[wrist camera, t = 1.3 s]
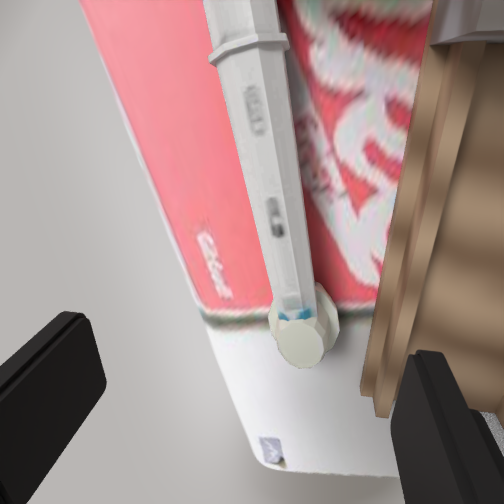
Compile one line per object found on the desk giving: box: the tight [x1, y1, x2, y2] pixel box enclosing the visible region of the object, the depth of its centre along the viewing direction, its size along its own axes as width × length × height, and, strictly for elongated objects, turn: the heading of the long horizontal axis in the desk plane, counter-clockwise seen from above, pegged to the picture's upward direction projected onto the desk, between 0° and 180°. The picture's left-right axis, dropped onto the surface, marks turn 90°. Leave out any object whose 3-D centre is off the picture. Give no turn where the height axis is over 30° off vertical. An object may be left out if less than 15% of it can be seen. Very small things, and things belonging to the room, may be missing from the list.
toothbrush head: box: [203, 0, 340, 369], centre depth 22 cm, size 5×7×25 cm
